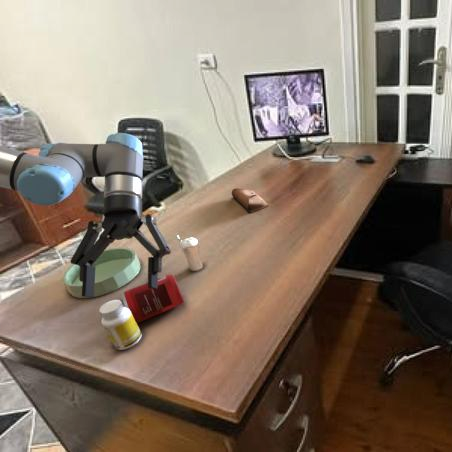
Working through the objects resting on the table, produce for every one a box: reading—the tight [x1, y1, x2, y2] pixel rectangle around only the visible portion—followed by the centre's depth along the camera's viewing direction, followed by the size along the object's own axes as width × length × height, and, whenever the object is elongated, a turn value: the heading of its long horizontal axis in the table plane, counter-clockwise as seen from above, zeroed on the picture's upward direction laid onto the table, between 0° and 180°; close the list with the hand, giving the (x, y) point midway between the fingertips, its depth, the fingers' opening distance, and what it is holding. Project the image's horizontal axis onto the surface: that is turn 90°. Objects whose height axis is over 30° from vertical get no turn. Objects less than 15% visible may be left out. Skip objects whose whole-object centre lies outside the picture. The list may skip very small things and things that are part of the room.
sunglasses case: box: [231, 188, 269, 213], centre depth 132 cm, size 18×7×7 cm
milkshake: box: [176, 235, 204, 272], centre depth 95 cm, size 4×5×10 cm
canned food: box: [121, 274, 185, 324], centre depth 81 cm, size 8×8×11 cm
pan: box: [61, 246, 141, 299], centre depth 96 cm, size 18×18×4 cm
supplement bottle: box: [99, 299, 143, 351], centre depth 73 cm, size 5×5×10 cm
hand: (120, 292), depth 74 cm, fingers open, 13 cm apart
